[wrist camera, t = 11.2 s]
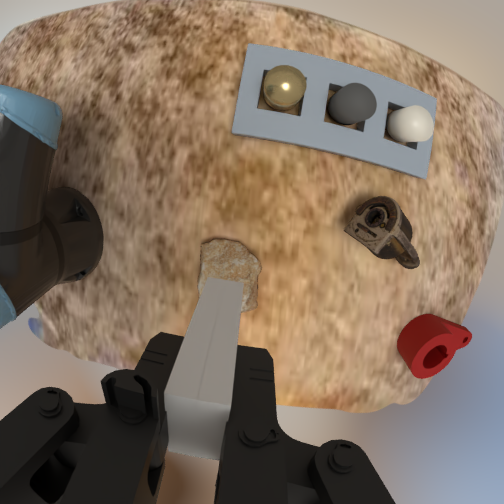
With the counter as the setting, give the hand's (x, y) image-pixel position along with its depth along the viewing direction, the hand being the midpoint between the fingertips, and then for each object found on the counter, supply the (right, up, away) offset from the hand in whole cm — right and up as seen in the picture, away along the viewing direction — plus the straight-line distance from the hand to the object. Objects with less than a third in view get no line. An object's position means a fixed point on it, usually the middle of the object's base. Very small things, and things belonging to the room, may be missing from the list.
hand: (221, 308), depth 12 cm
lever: (+36, -13, +32) cm, 50 cm away
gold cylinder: (+5, +21, +18) cm, 29 cm away
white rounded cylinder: (+21, +19, +19) cm, 34 cm away
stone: (+2, -4, +29) cm, 29 cm away
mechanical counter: (+19, +6, +26) cm, 33 cm away
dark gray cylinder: (+13, +20, +19) cm, 30 cm away
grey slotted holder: (+13, +21, +21) cm, 32 cm away
